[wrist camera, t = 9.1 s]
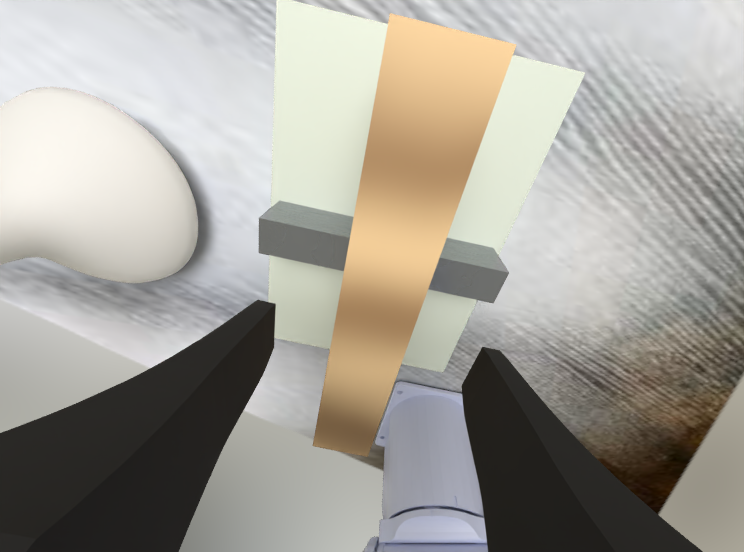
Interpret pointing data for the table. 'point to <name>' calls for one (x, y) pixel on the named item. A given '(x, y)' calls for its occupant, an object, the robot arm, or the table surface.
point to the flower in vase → (90, 189)
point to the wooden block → (404, 212)
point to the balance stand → (344, 167)
